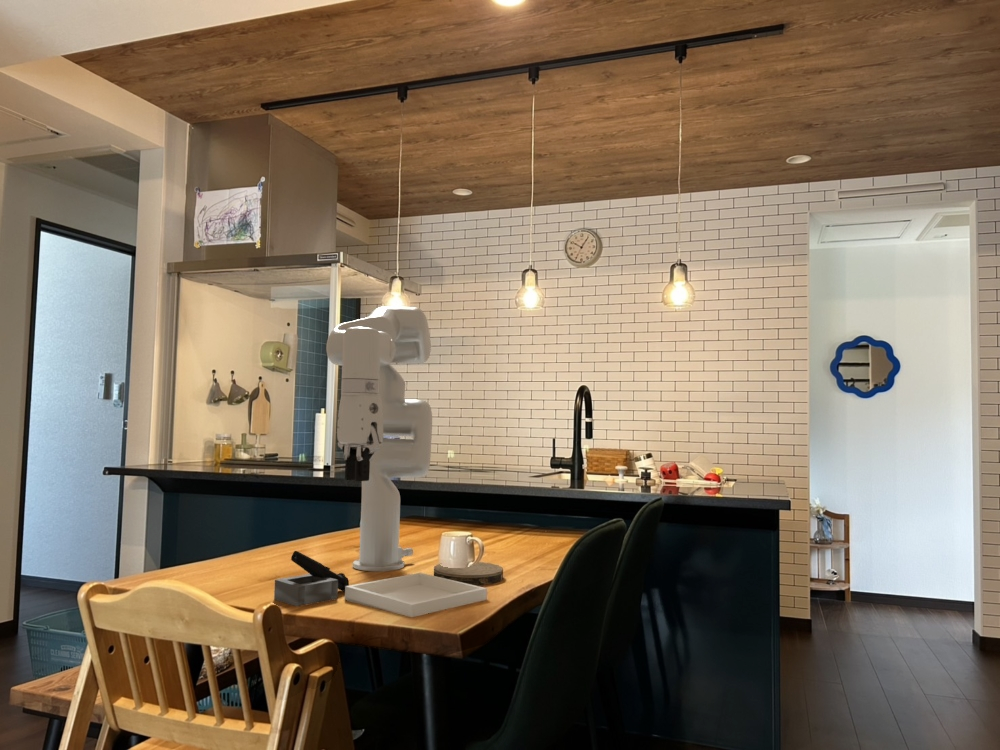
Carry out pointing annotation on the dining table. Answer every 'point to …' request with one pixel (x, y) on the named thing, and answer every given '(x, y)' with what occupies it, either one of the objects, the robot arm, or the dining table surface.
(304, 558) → the electric trimmer
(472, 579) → the wooden log coaster
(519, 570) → the dining table surface
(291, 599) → the socket block
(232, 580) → the dining table surface
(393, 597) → the tray
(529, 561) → the dining table surface
